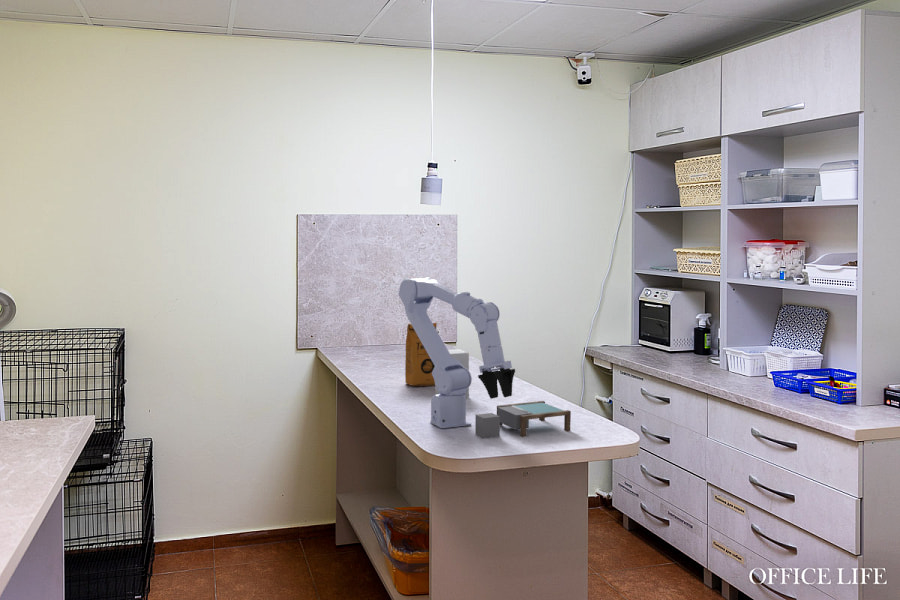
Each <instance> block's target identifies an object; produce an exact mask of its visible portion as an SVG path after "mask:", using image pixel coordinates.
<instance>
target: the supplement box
mask: <svg viewBox="0 0 900 600" xmlns="http://www.w3.org/2000/svg"><path fill="white" fill-rule="evenodd" d="M448 351H449V353H450V355H451V356H452V357H453V358H454V359H456V360H458V361H460V362H461V363H462V365H463V366H464V367H465V368H466V369H467V370H468V371H469V372H470V364H469V363H470V362H469V361H470V353H469V352H467V351H465V350H463V349H461V348H458V349H448ZM437 394H439V391H438V390H437V388H436V387H435V395H437ZM467 398H470V386H469V387H468V388H467V392H466V399H467Z"/></svg>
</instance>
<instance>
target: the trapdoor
mask: <svg viewBox="0 0 900 600" xmlns="http://www.w3.org/2000/svg"><path fill="white" fill-rule="evenodd" d="M557 411H565V410H564V409H562V408H558V407H556V406H553V405H550V404H547V403H546V402H545V403H534V404H525V405H515V406H513V405H512V406H507V407H498V416H500V423H502V425H505V426H507V427H509V428H511V429H513V430H516V431H517V430H519V431H520V416H521V415H530V414H539V413H548V412H557ZM528 429H530V419H529V420H527V426H526V430H528Z"/></svg>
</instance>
